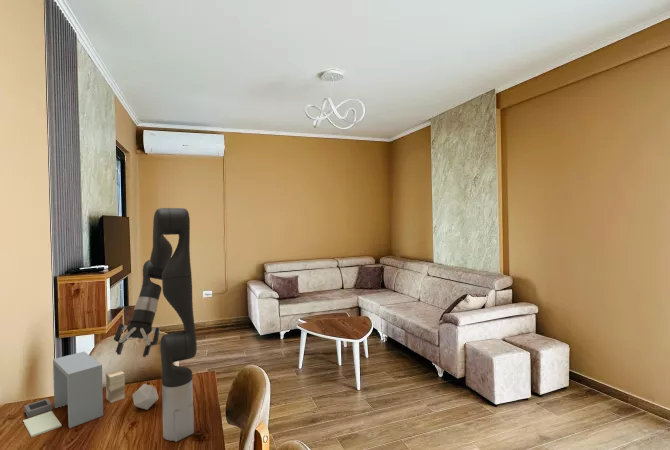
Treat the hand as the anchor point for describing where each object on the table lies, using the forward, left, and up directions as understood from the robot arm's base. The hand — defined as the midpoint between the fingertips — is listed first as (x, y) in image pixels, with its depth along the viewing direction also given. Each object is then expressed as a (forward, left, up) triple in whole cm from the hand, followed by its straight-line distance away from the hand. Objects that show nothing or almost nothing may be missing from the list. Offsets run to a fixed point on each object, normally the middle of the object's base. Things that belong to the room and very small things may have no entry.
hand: (131, 355), depth 129 cm
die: (+3, -6, -22) cm, 23 cm away
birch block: (+19, -1, -22) cm, 29 cm away
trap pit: (+31, +21, -22) cm, 43 cm away
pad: (+19, +22, -22) cm, 37 cm away
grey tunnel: (+19, +12, -22) cm, 31 cm away
